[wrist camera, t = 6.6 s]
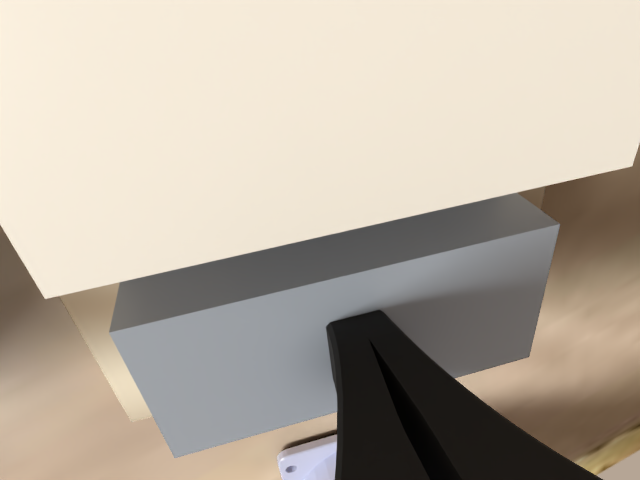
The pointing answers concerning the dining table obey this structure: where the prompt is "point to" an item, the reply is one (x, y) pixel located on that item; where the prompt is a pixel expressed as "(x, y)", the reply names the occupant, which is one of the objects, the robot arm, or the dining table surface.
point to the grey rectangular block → (329, 315)
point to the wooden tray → (94, 324)
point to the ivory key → (290, 120)
